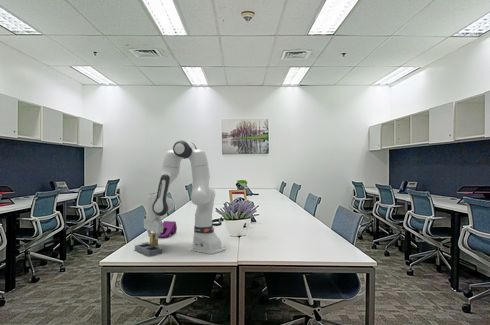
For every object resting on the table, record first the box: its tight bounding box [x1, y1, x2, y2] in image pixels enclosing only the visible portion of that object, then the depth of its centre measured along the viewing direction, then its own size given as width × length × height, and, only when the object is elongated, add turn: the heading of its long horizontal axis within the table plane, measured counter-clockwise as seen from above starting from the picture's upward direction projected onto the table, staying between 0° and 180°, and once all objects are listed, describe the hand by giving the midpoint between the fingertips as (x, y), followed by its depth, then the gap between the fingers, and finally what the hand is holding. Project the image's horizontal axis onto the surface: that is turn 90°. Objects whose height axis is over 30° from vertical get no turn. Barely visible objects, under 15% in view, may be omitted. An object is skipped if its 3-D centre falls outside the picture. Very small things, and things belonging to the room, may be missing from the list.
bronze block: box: [149, 232, 159, 247], centre depth 205 cm, size 4×4×8 cm
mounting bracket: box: [159, 220, 178, 239], centre depth 232 cm, size 10×8×18 cm
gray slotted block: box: [134, 242, 164, 257], centre depth 189 cm, size 18×9×3 cm, turn 45°
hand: (153, 237), depth 205 cm, fingers open, 8 cm apart
